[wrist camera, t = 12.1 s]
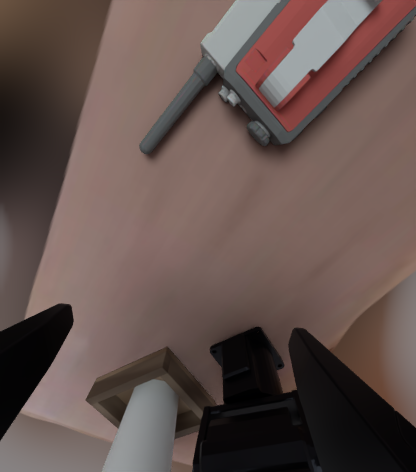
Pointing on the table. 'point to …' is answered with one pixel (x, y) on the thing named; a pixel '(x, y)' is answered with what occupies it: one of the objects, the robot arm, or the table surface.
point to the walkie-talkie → (287, 60)
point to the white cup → (145, 431)
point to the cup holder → (143, 370)
